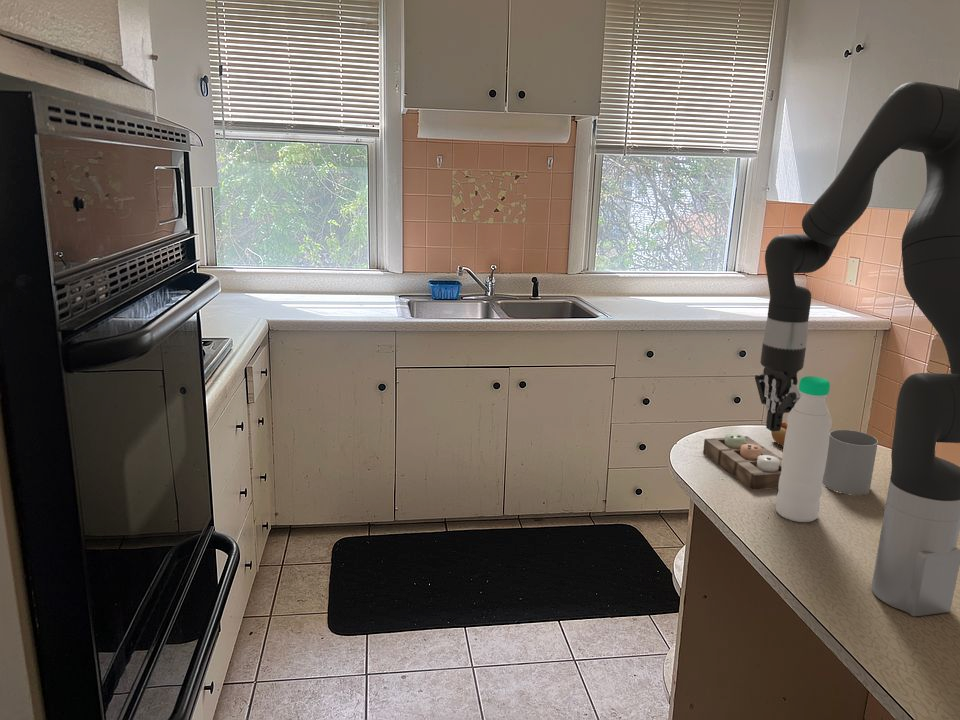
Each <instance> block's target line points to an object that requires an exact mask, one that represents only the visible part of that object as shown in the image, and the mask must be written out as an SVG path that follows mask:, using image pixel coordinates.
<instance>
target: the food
mask: <svg viewBox="0 0 960 720" xmlns="http://www.w3.org/2000/svg"><path fill="white" fill-rule="evenodd" d="M787 426H788V423H787V422H785V421H782V426H781V429H780V430H779V431H770V432H771V437H772V439H773V441H774V442H775V443H777V445H780V446H781V447H784V440H785V435H786V430H787Z"/></svg>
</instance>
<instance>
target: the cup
mask: <svg viewBox="0 0 960 720" xmlns="http://www.w3.org/2000/svg"><path fill="white" fill-rule="evenodd" d="M878 443H879V439H877V438H876V437H875V436H873V435H871V434H868V433H865V432H861V431H858V430H852V429H834V430H832V431H829V446H828V454H827V460H826V466H825V471H824V475H823V479H822V483H823V484H824V485H825V486H826V487H828V488H830V489H832V490H835V491H838V492H841V493H840V494H842V493H845V494H844V495H846V494H851V495H850V496H854V495H857V496H865V495H867V493H868V494H870V491H871V484H872V479H873V472H874V467H875V461H876V456H877V449H878ZM824 485H823V486H824ZM825 486H824V487H825ZM826 487H825V488H826ZM828 488H827V489H828ZM830 489H829V490H830ZM832 490H831V491H832ZM835 491H834V492H835ZM838 492H837V493H838Z"/></svg>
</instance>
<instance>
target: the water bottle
mask: <svg viewBox="0 0 960 720" xmlns="http://www.w3.org/2000/svg"><path fill="white" fill-rule="evenodd" d="M798 383H799V384H798V391H799V393H800V394H801V397H800V399H799V400H798V401H797V402H796V403H795V405H794V407H793V408H792V410H791V411H790V412H789V413H788V414H787V419H786V423H787V424H788V426H787V430H786V435H785V440H784V447H783V446H782V447H783V449H782V457H781V459H782V469H781V475H780V478H779V486H778V487H779V488H778V492H777V495H776V499H775V506H774V507H775V511H776V513H778V515H779V516H781V517H783V518H784V519H786V520H788V519H789V521H793V522H797V523H810V522H814V521H815V520H816V519H817V518H818V517H819V514H820V502H821V501H820V499H821V496H822V492H823V487H824V485H823V483H822V480H823V475H824V471H825V466H826V460H827V454H828V446H829V434H830V432H831V431H830V430H831V429H832V425H833V420H832V417H831V412H829V406H828V405H827V402H826V398H827V397H828V396H829V393H830V389H831V384H830V381H829V380H828V379H826V378H823V377H818V376H810V375H809V376H803V377H801V378H800V380H799V382H798Z"/></svg>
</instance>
